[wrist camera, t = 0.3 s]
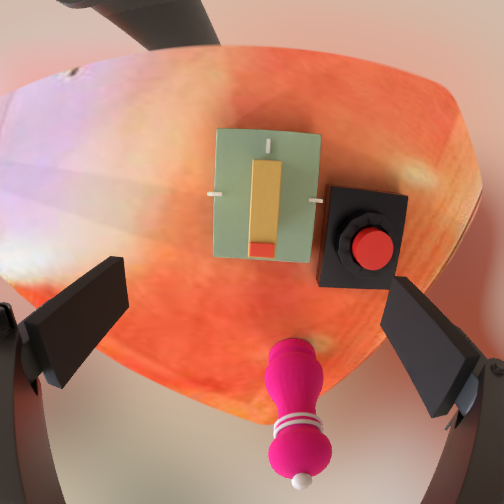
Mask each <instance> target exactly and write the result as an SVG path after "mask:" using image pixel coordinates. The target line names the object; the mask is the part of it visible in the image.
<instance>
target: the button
mask: <svg viewBox="0 0 504 504" xmlns="http://www.w3.org/2000/svg"><path fill="white" fill-rule="evenodd" d="M352 253H353V255H354V257H355V259H356V260H357V261H358V262H359V263H360V265H361V266H362V267H364V268H366V269H368V270H377V269H380V268H382V267H384V266H385V265H386V264H387V263H388V262H389V260H390V259H391V257H392V254H393V243H392V240H391V238H390V237H389V236H388V235H387V234H386V233H384V232H383V231H381V230H380V229H378V228H376V227H367V228H364V229H362V230H361V231H359V232H358V233H357V234H356V236H355V237H354V239H353V242H352Z"/></svg>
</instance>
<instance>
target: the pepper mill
mask: <svg viewBox="0 0 504 504" xmlns="http://www.w3.org/2000/svg"><path fill="white" fill-rule="evenodd" d="M265 385H266V389H267V391H268V393H269V395H270V397H271V398H272V400H273V401H274V402H275V404H276V405H277V408H278V414H279V418H278V420H277V422H276V423H275V425H274V441H273V442H272V443H271V445H270V447H269V452H268V456H269V462H270V464H271V467H272V468H273V469H274V470H275V472H277V473H278V474H279V475H281V476H283V477H285V478H289V479H292V484H293V486H294V487H295V488H296V489H300V490H303V489H306V488H308V487H309V486H310V485H311V483H312V478H311V477H312V476H315V475H317V474H319V473H320V472H322V471H323V470H324V469H325V468H326V467H327V465H328V464H329V462H330V459H331V456H332V447H331V444H330V441H329V439H328V438H327V437H326V436H325V435H324V434H323V432H324V429H323V427H322V426H323V422H322V420H321V419H320V418H319V417H318V416H317V415H316V410H315V406H316V401H317V399H318V396H319V394H320V392H321V389H322V385H323V370H322V367H321V365H320V363H319V362H318V361H317V360H316V355H315V351H314V348H313V347H312V346H311V344H309V343H308V342H306V341H304V340H302V339H296V338H293V339H286V340H283V341H281V342H279V343H277V344H276V345H275V346H274V347H273V348H272V349H271V351H270V353H269V365H268V367H267V369H266V372H265Z"/></svg>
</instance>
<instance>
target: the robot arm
mask: <svg viewBox="0 0 504 504" xmlns="http://www.w3.org/2000/svg"><path fill="white" fill-rule="evenodd" d="M128 308H129V301H128V294H127V286H126V278H125V269H124V259H123V257H114V256H110V257H109V258H107V259H106V260H104V261H103V262H101V263H100V264H99V265H97V266H96V267H94V268H93V269H91V270H90V271H89V272H87V273H86V274H84V275H83V276H82V277H80V278H79V279H78V280H76V281H75V282H73V283H72V284H71V285H69V286H68V287H67V288H65V289H64V290H63V291H61V292H60V293H59V294H57V295H56V296H55V297H54V298H52V299H50V300H48V301H47V302H45V303H44V304H43V305H42V307H39V308H38V309H36V311H34V312H33V313H31V314H30V315H29V316H28V317H26V319H24V320H23V321H22V322H20V323H19V324H18V325H17V323H16V320H15V317H14V314H13V310H12V307H11V305H10V304H9V303H4V302H3V303H0V504H66V503H65V500H64V497H63V494H62V491H61V487H60V484H59V481H58V477H57V474H56V470H55V466H54V462H53V458H52V454H51V449H50V445H49V439H48V434H47V429H46V422H45V416H44V408H43V400H42V391H41V383H40V380H39V378H38V376H39V375H40V374H41V373H42V371H43V374H44V376H45V378H46V380H47V382H48V383H49V384H51V385H53V386H56V387H58V388H61V389H63V388H64V386H65V385H66V384H67V382H68V381H69V380H70V378H71V377H72V376H73V374H74V373H75V372H76V371H77V369H78V368H79V367H80V366H81V364H82V363H83V362H84V361H85V359H86V358H87V357H88V356H89V354H90V353H91V352H92V351H93V349H94V348H95V347H96V346H97V345H98V343H99V342H100V341H101V340H102V338H103V337H104V336H105V335H106V334H107V332H108V331H109V330H110V329H111V328H112V326H113V325H114V324H115V323H116V322H117V321H118V319H119V318H120V317H121V316H122V315H123V314H124V312H125V311H126V310H127V309H128ZM380 326H381V327H382V329H383V331H384V332H385V334H386V336H387V337H388V339H389V341H390V342H391V344H392V346H393V348H394V349H395V351H396V353H397V355H398V356H399V358H400V360H401V361H402V363H403V365H404V367H405V369H406V371H407V372H408V374H409V376H410V378H411V380H412V382H413V383H414V385H415V387H416V389H417V391H418V393H419V395H420V397H421V398H422V400H423V402H424V404H425V406H426V408H427V410H428V412H429V414H430V416H431V418H435V417H439V416H443V415H447V414H448V412H449V411H450V409H451V408H452V406H453V404H454V403H455V404H456V406H457V407H458V410H457V412H456V413H455V415H454V416H453V418H452V419H451V421H450V422H449V423H448V425H447V426H446V428H445V430H447V429H448V428H449V427H450V426H451V428H450V431H449V434H448V438H447V441H446V444H445V446H444V450H443V452H442V455H441V458H440V460H439V463H438V466H437V468H436V471H435V473H434V475H433V478H432V480H431V482H430V485H429V487H428V489H427V491H426V494H425V496H424V498H423V500H422V502H421V504H504V361H502V360H500V359H495V358H490V359H487V358H486V357H485V356H484V355H483V353H482V352H481V351H480V350H479V349H478V348H477V346H476V345H475V344H474V343H473V342H471V340H470V339H469V338H468V337H466V334H465V333H464V332H463V331H462V330H461V329H460V328H459V327H457V326H455V325H454V324H452V323H451V322H450V321H449V319H447V317H446V316H445V315H443V313H442V312H441V311H440V310H439V309H438V308H437V307H436V306H435V305H434V304H433V303H432V302H431V301H430V300H429V299H428V298H427V297H426V296H425V295H424V294H423V293H422V292H421V291H420V290H419V289H418V288H417V287H416V286H415V285H414V284H413V283H412V282H411V281H410V280H409V279H408V278H407V277H401V276H393V278H392V282H391V286H390V290H389V294H388V298H387V302H386V306H385V309H384V313H383V317H382V320H381V324H380Z"/></svg>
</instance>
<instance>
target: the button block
mask: <svg viewBox="0 0 504 504" xmlns="http://www.w3.org/2000/svg"><path fill="white" fill-rule="evenodd" d="M407 203H408V196H406V195H402V194H399V193H392V192H385V191H378V190H371V189H363V188H356V187H347V186H339V185H329V184H327V190H326V201H325V211H324V220H323V230H322V238H321V246H320V254H319V262H318V269H317V276H316V280H317V282H318V285H319V287H332V288H356V289H386V290H390V286H391V282H392V278H393V276H395V271H396V267H397V262H398V257H399V252H400V247H401V241H402V236H403V230H404V224H405V217H406V211H407ZM367 227H376V228H378V229H380V230H381V231H383V232H384V233H386V234H387V235H388V236H389V237H390V238H391V240H392V243H393V254H392V257H391V259H390V260H389V262H388V263H387V264H386V265H385V266H384V267H382V268H380V269H377V270H368V269H366V268H364V267H362V266H361V265H360V263H359V262H358V261H357V260H356V259H355V257H354V255H353V253H352V242H353V239H354V237H355V236H356V234H357V233H358V232H359V231H361V230H362V229H364V228H367Z"/></svg>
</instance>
